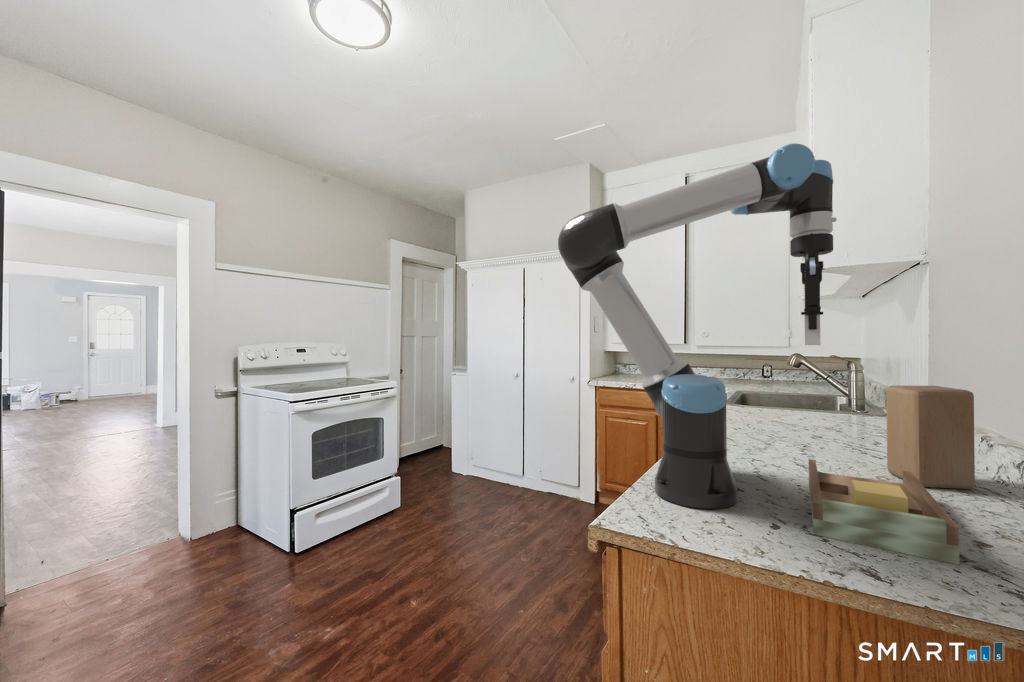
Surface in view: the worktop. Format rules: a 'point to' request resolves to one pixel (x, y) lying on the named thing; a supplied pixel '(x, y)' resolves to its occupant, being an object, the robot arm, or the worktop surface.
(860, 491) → the ochre block
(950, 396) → the block
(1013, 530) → the worktop surface
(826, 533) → the tray
